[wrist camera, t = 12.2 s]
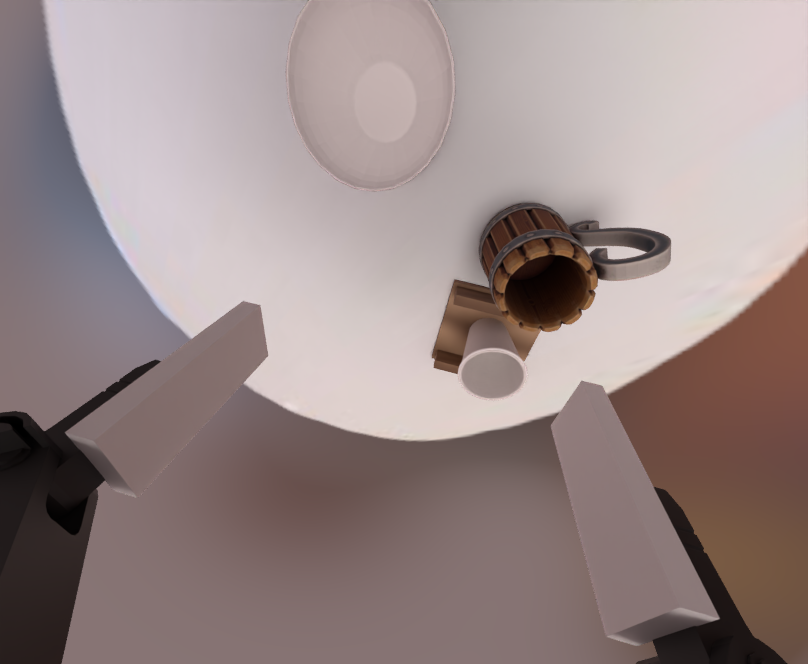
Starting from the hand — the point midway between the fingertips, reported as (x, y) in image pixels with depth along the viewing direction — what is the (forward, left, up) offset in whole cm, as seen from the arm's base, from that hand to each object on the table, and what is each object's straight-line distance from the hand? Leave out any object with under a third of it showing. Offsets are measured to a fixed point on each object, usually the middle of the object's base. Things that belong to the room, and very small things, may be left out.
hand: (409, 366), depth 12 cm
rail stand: (+15, +10, -31) cm, 36 cm away
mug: (0, +12, -31) cm, 33 cm away
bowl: (-10, -10, -31) cm, 34 cm away
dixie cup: (+15, +10, -30) cm, 35 cm away
